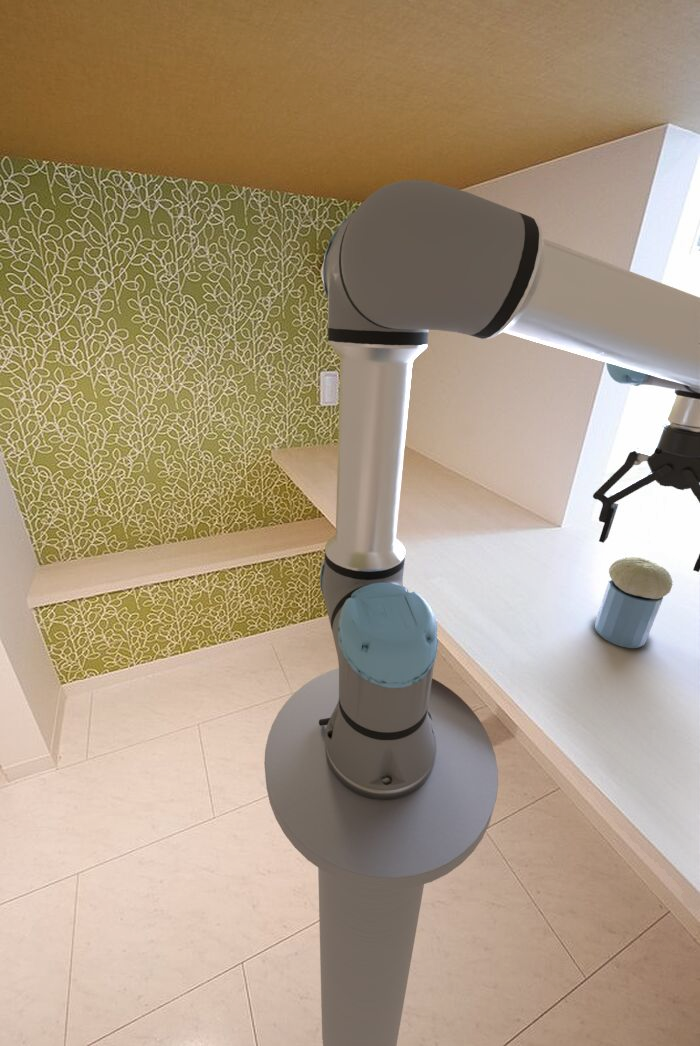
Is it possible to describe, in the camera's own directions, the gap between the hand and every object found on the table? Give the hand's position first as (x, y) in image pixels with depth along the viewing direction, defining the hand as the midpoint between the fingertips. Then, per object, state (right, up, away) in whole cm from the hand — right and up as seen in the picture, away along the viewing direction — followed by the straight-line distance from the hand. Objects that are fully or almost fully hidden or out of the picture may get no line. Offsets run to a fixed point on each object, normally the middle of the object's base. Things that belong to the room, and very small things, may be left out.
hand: (647, 553), depth 73 cm
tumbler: (0, -15, +7) cm, 17 cm away
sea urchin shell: (0, -6, +3) cm, 7 cm away
